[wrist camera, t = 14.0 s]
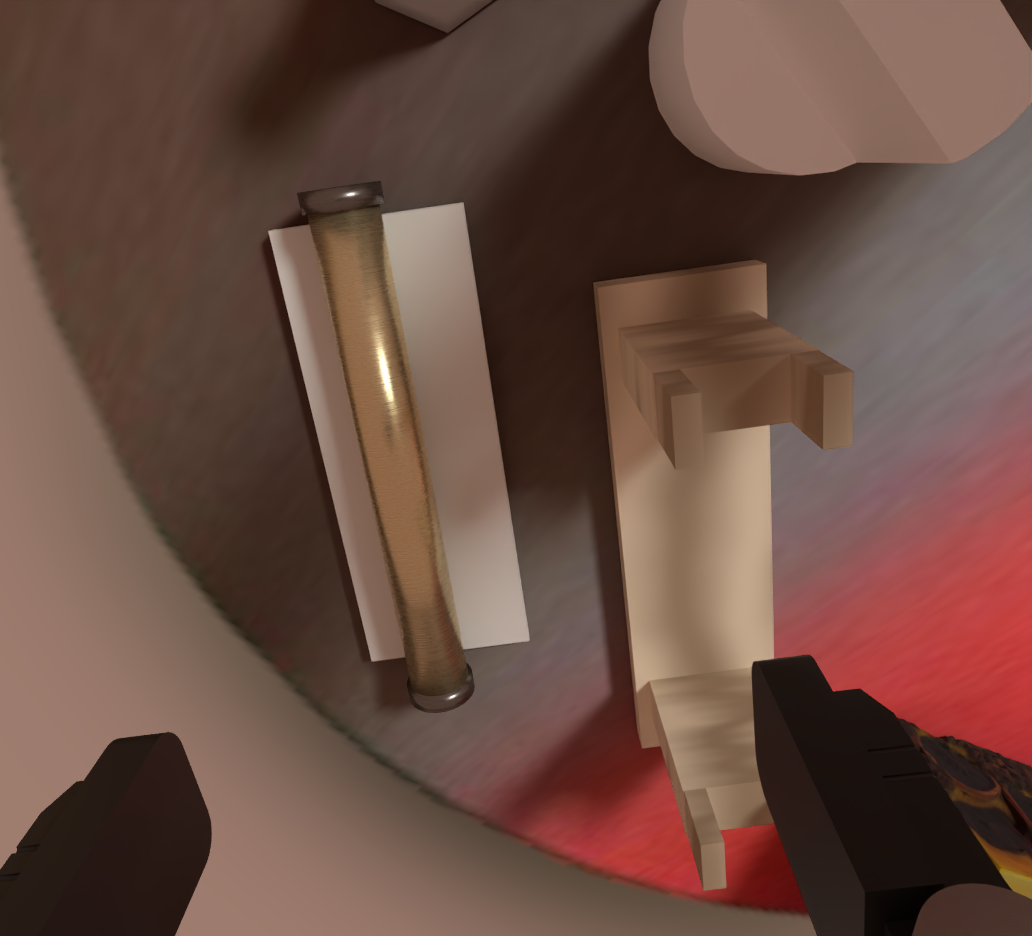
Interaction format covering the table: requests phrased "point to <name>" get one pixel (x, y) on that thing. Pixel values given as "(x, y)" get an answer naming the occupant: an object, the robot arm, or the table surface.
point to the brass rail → (389, 436)
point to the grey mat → (444, 419)
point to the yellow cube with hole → (986, 800)
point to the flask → (437, 11)
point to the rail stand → (704, 516)
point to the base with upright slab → (836, 80)
